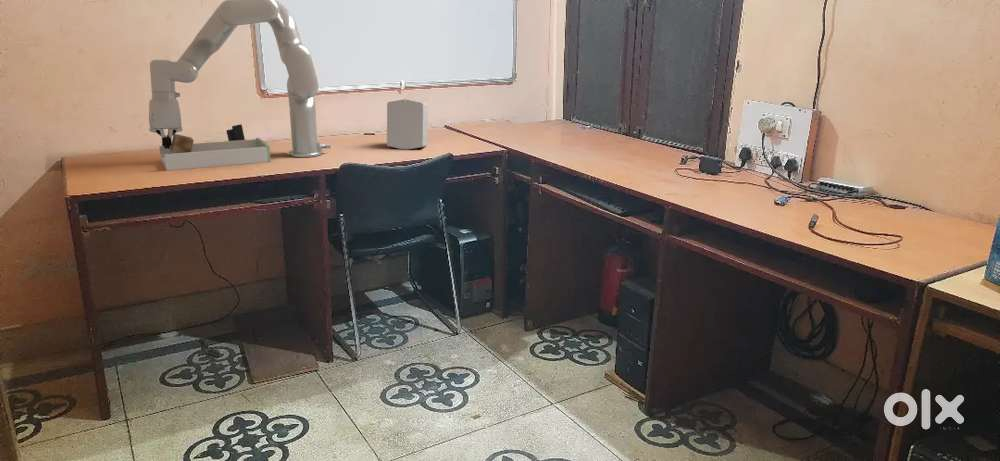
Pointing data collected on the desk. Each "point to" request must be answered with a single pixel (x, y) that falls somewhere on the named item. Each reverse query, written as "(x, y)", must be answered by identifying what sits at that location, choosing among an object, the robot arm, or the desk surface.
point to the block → (181, 144)
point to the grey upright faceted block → (406, 124)
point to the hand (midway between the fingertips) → (167, 148)
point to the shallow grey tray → (217, 154)
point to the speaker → (235, 133)
